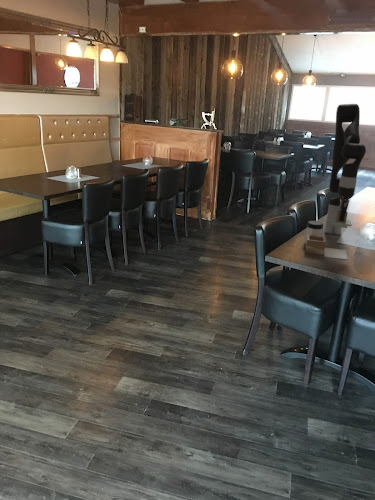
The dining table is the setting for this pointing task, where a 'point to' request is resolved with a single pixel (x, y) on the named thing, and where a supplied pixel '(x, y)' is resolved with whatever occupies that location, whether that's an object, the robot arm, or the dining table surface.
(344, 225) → the lid
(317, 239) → the box
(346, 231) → the dining table surface
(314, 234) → the jar
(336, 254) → the mat
